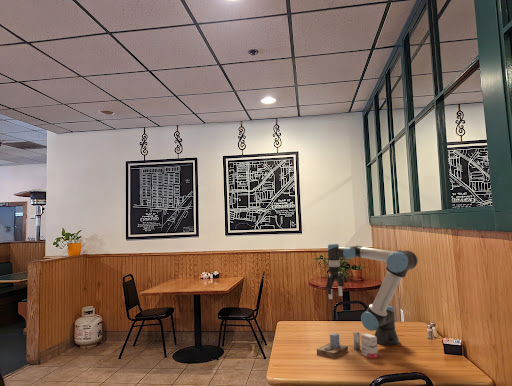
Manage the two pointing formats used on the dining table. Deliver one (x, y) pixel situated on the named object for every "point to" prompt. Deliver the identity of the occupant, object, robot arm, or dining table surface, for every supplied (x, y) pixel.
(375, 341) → the ink box
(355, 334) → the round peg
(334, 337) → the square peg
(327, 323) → the dining table surface
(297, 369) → the dining table surface
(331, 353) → the socket block
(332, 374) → the dining table surface
